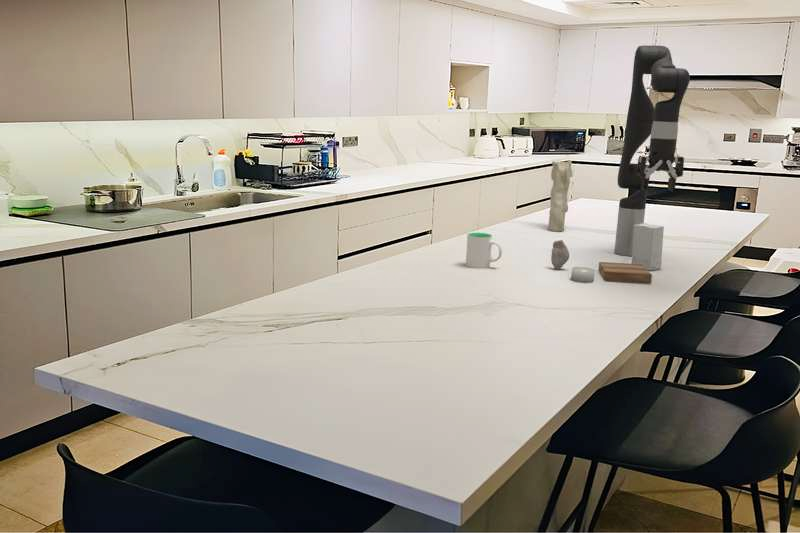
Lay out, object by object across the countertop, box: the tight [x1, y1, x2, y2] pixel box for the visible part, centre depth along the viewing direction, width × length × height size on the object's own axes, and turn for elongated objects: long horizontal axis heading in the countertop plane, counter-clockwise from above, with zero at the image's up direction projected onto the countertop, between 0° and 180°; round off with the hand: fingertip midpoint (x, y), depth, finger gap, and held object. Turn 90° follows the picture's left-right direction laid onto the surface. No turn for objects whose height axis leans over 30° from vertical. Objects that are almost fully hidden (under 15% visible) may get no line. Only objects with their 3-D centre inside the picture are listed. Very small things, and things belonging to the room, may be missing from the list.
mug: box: [465, 232, 503, 269], centre depth 244 cm, size 12×8×10 cm, turn 65°
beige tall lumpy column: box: [547, 159, 573, 233], centre depth 311 cm, size 9×8×30 cm
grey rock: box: [550, 239, 570, 270], centre depth 244 cm, size 6×4×10 cm, turn 71°
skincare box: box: [631, 223, 665, 271], centre depth 250 cm, size 8×6×15 cm
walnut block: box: [597, 261, 653, 285], centre depth 237 cm, size 14×14×3 cm
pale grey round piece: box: [570, 266, 596, 284], centre depth 231 cm, size 7×7×4 cm
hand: (657, 190), depth 225 cm, fingers open, 8 cm apart
